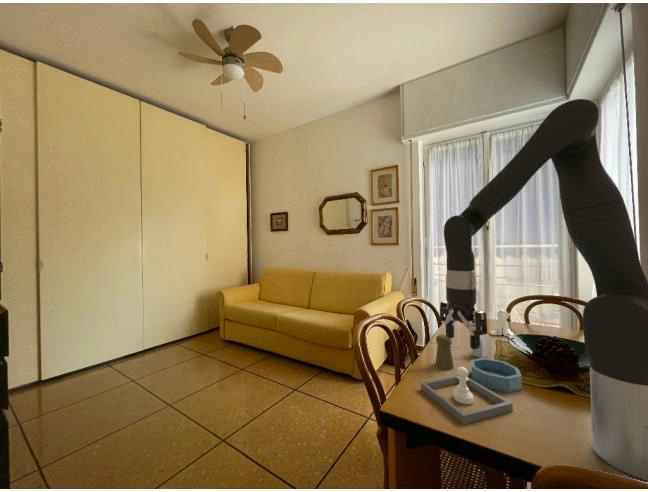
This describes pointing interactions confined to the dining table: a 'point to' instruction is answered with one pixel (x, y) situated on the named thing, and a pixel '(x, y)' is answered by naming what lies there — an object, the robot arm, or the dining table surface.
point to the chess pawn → (463, 388)
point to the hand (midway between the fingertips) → (461, 342)
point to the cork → (444, 353)
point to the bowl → (496, 374)
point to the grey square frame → (469, 416)
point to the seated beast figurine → (502, 324)
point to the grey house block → (483, 347)
